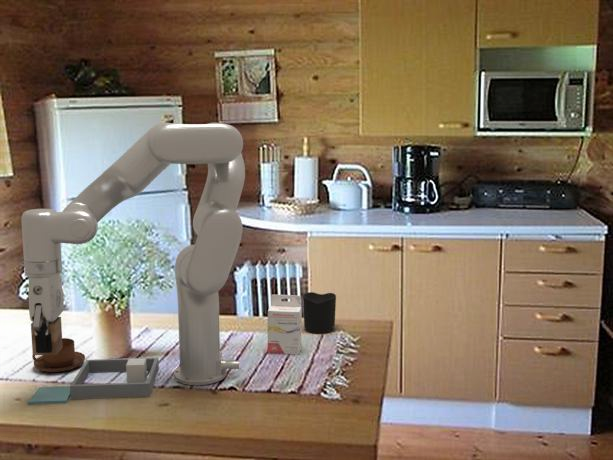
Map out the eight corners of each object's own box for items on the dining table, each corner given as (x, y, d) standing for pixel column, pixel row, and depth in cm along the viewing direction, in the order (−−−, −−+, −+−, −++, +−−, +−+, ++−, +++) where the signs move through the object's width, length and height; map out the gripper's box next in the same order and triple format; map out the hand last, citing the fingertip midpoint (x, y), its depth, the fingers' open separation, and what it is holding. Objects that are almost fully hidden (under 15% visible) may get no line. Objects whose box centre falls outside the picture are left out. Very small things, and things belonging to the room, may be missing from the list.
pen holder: (318, 336, 193) (318, 302, 191) (296, 328, 200) (296, 295, 198) (342, 329, 199) (342, 296, 197) (320, 322, 206) (320, 289, 204)
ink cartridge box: (267, 353, 180) (266, 299, 177) (269, 347, 184) (269, 293, 182) (299, 355, 179) (299, 300, 176) (301, 348, 184) (301, 294, 181)
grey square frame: (158, 369, 169) (158, 357, 168) (150, 396, 153) (149, 383, 153) (86, 371, 167) (86, 359, 167) (70, 399, 152) (69, 386, 151)
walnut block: (62, 347, 154) (60, 316, 153) (56, 354, 149) (54, 323, 148) (39, 347, 154) (37, 317, 152) (32, 355, 149) (30, 324, 148)
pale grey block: (147, 378, 163) (146, 358, 163) (144, 385, 160) (143, 364, 159) (129, 379, 163) (128, 359, 162) (127, 385, 159) (126, 365, 158)
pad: (75, 388, 158) (75, 385, 158) (66, 403, 150) (66, 400, 150) (39, 389, 157) (39, 386, 157) (28, 404, 149) (28, 401, 149)
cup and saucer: (50, 380, 163) (48, 355, 162) (24, 367, 170) (23, 344, 169) (95, 365, 172) (93, 342, 171) (69, 354, 179) (67, 331, 178)
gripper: (50, 276, 140) (55, 361, 143) (70, 258, 157) (74, 334, 160) (12, 276, 139) (17, 362, 143) (36, 258, 156) (41, 335, 159)
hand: (47, 346), depth 151 cm, fingers closed on walnut block, 5 cm apart
